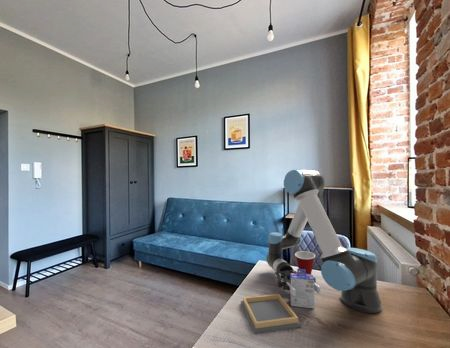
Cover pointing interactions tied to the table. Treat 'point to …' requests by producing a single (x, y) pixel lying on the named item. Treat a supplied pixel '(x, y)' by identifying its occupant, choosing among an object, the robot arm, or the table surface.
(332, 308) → the table surface
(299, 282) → the ink cartridge box
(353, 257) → the robot arm
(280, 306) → the tray
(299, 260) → the plastic cup
